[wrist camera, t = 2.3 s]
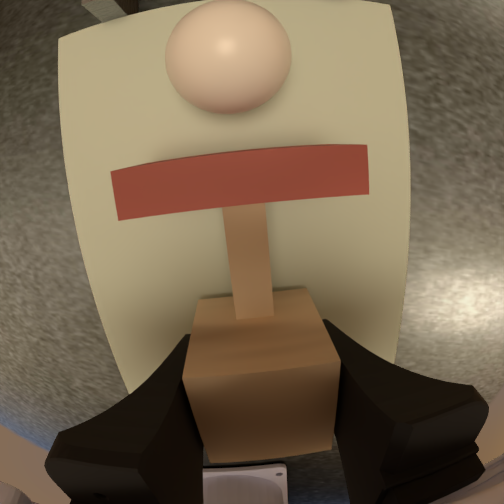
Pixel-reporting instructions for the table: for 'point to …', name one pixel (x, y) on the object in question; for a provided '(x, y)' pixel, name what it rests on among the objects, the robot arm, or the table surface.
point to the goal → (111, 8)
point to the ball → (228, 56)
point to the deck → (232, 139)
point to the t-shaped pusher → (253, 297)
